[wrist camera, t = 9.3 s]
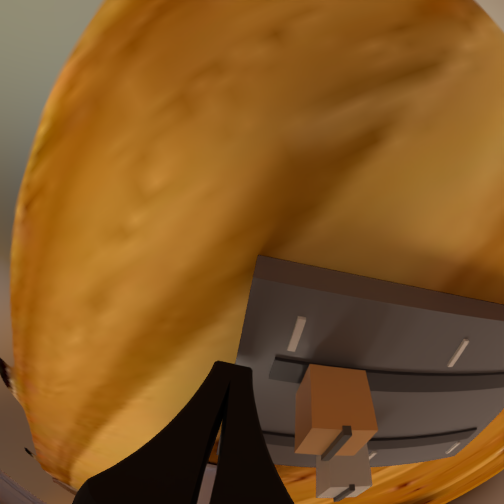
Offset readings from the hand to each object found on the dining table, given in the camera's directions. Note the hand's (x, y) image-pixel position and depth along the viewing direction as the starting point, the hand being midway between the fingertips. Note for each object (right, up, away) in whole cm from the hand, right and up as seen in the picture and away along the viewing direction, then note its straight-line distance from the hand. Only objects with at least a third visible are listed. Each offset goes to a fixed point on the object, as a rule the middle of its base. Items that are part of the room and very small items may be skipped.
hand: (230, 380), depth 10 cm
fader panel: (+10, -3, +4) cm, 11 cm away
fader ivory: (+6, -6, +3) cm, 9 cm away
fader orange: (+4, -1, +1) cm, 4 cm away
